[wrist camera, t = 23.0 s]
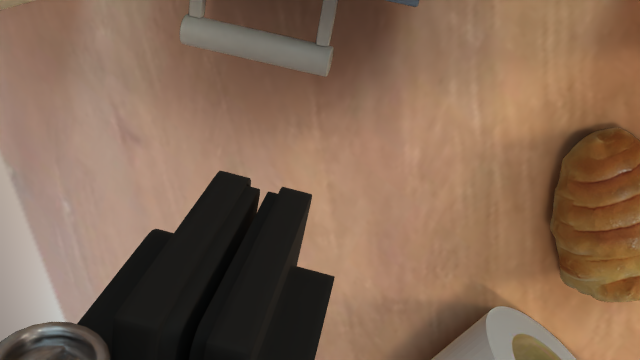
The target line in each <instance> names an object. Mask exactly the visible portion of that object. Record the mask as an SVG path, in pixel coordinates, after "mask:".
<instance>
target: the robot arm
mask: <svg viewBox="0 0 640 360" xmlns="http://www.w3.org/2000/svg"><path fill="white" fill-rule="evenodd" d="M259 196H260V189H257V188H253V187H251V180H250V178H247V177H243V176H239V175H235V174H232V173H228V172H224V171H219V172H218V173H217V174H216V176H215V177H214V178H213V180H212V181H211V183H210V184H209V185H208V187H207V188H206V190H205V191H204V192H203V194H202V195H201V196H200V198H199V199H198V201H197V202H196V203H195V205H194V206H193V208H192V209H191V210H190V212H189V213H188V215H187V216H186V217H185V219H184V220H183V221H182V223H181V224H180V226H179V227H178V228H177V230H176V231H175V233H170V232H167V231H163V230H159V229H154V230H152V231H151V232H150V233H149V234H148V235H147V236H146V238H145V239H144V240H143V241H142V243H141V244H140V245H139V246H138V248H137V249H136V250H135V252H134V253H133V254H132V255H131V257H130V258H129V259H128V260H127V262H126V263H125V264H124V265H123V267H122V268H121V269H120V270H119V272H118V273H117V274H116V276H115V277H114V278H113V279H112V281H111V282H110V283H109V284H108V286H107V287H106V288H105V289H104V291H103V292H102V293H101V294H100V296H99V297H98V298H97V300H96V301H95V302H94V303H93V305H92V306H91V307H90V308H89V310H88V311H87V312H86V313H85V315H84V316H83V317H82V319H81V320H80V321H79V322H78V324H74V323H70V322H48V323H42V324H37V325H32V326H30V327H27V328H24V329H21V330H19V331H16V332H15V333H13V334H11V335H10V336H8V337H7V338H5V339H4V340H2V341H1V342H0V360H315V355H316V351H317V347H318V343H319V339H320V335H321V331H322V327H323V323H324V319H325V315H326V310H327V306H328V302H329V298H330V294H331V290H332V286H333V282H334V276H330V275H327V274H323V273H319V272H316V271H312V270H308V269H304V268H301V267H297V262H298V257H299V253H300V249H301V244H302V240H303V235H304V231H305V226H306V222H307V217H308V213H309V208H310V204H311V199H312V194H308V193H304V192H300V191H297V190H293V189H289V188H285V187H282V188H281V189H280V191H279V193H278V194H276V193H272V192H268V193H267V194H266V196H265V198H264V200H263V202H262V204H261V206H260V208H259V210H258V212H257V208H258V202H259ZM256 213H257V214H256Z"/></svg>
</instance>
